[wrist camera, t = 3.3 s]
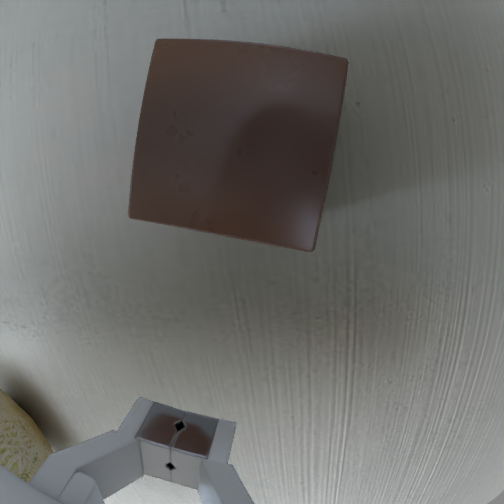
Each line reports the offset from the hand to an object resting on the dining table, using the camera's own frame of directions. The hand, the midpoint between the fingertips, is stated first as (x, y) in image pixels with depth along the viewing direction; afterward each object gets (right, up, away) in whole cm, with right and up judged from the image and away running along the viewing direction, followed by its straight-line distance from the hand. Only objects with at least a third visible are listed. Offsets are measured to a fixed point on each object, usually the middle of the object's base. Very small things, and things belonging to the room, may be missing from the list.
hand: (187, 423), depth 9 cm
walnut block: (+2, +9, +4) cm, 10 cm away
